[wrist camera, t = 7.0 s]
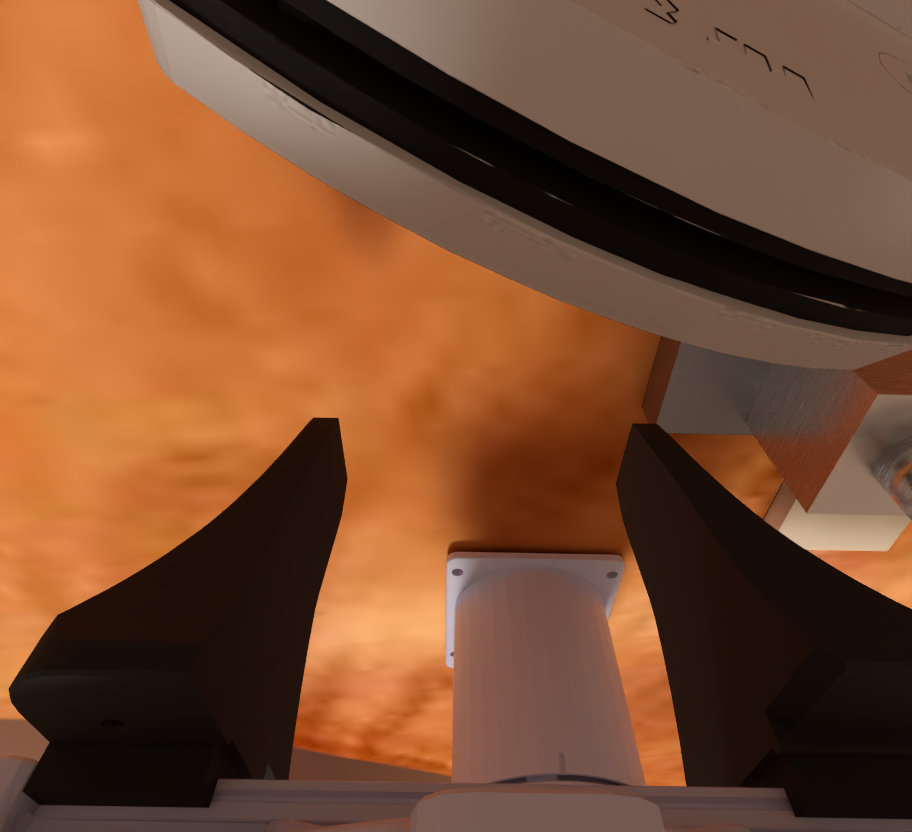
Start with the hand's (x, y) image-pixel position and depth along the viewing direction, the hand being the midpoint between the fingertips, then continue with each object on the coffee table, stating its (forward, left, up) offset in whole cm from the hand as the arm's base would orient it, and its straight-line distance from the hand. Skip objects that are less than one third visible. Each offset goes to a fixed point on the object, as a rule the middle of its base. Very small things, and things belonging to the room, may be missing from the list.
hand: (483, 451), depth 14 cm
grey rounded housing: (+9, -2, -6) cm, 11 cm away
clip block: (0, -11, -4) cm, 12 cm away
